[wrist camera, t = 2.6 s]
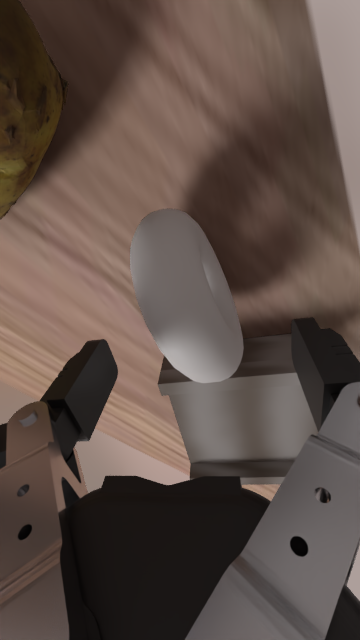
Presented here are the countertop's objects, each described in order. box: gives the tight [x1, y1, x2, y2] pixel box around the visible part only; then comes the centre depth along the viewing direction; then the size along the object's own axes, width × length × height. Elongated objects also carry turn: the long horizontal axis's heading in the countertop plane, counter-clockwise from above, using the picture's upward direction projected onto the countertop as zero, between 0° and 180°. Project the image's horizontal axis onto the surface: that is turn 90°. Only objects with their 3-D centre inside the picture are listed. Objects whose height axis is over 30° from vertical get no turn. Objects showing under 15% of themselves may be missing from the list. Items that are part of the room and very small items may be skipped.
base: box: [158, 334, 318, 485], centre depth 24 cm, size 12×14×4 cm
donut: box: [130, 209, 244, 383], centre depth 15 cm, size 10×4×10 cm, turn 26°
